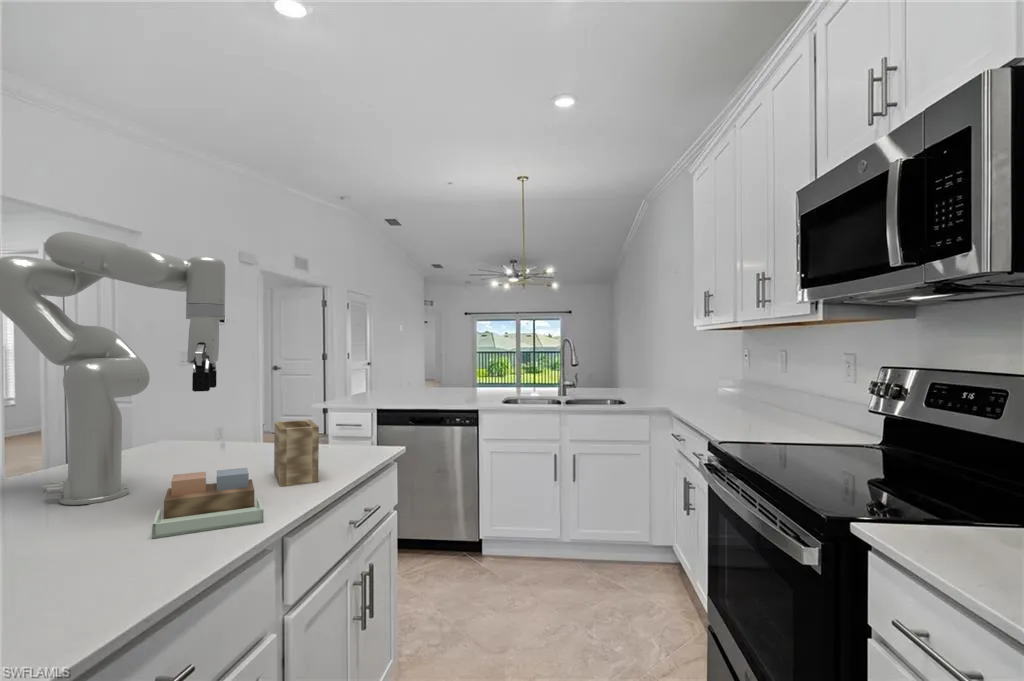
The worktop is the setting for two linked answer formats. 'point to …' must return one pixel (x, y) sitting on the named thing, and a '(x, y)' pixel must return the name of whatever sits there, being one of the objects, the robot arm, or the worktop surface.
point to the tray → (206, 521)
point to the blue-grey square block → (232, 479)
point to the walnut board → (208, 501)
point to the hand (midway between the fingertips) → (204, 389)
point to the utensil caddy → (296, 452)
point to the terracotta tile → (188, 483)
